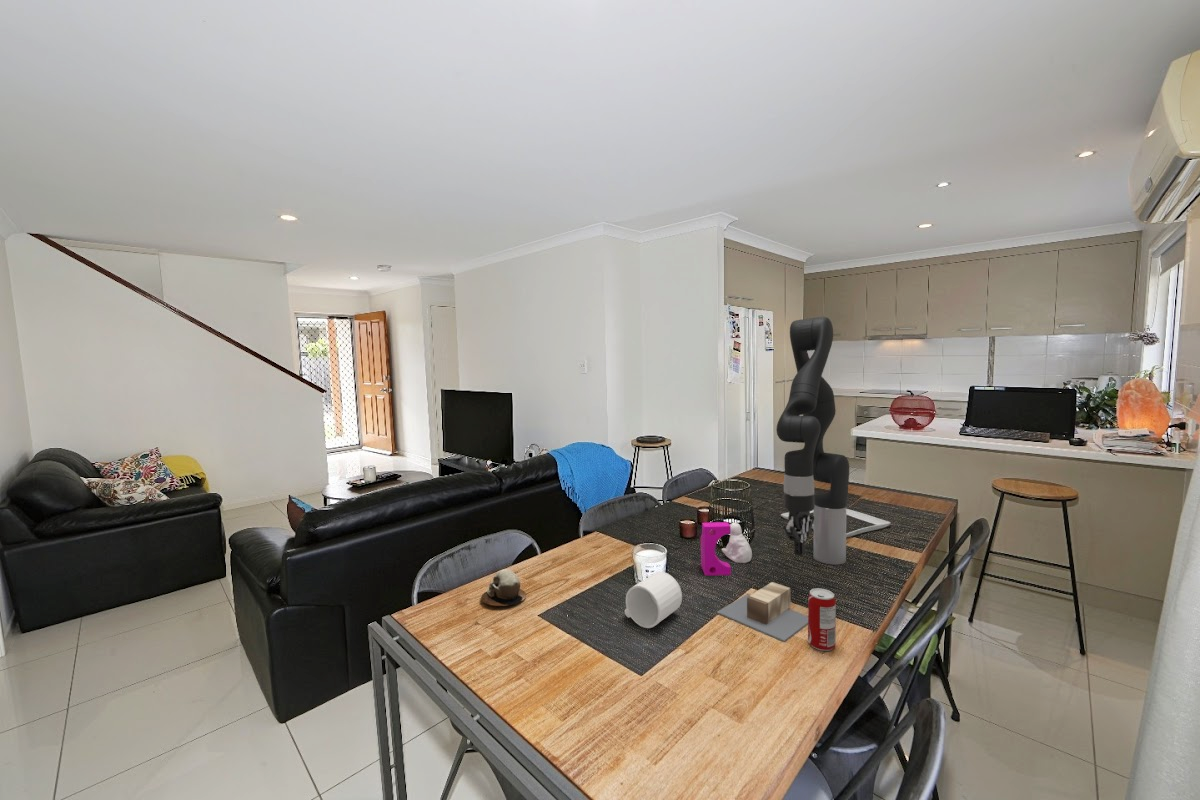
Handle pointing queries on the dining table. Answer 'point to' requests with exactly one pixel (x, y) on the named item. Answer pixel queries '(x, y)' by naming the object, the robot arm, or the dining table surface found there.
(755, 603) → the birch block
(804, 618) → the mat
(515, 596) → the skull
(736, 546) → the pale pink lumpy piece
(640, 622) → the mug
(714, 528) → the toy block
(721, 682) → the dining table surface
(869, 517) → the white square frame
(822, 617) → the soda can
